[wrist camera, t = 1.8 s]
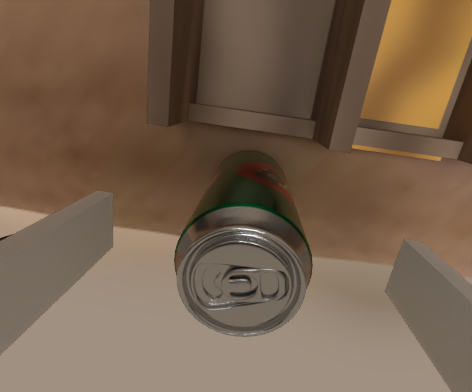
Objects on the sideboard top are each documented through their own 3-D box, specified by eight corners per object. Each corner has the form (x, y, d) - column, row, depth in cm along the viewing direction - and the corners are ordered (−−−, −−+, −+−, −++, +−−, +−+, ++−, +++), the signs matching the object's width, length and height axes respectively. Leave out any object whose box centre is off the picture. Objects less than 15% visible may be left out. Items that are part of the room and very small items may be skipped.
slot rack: (182, 119, 19) (146, 128, 13) (194, -65, 16) (155, -169, 10) (573, 176, 19) (729, 213, 13) (671, -4, 15) (951, -74, 9)
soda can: (211, 152, 20) (152, 219, 9) (283, 146, 20) (319, 211, 8) (219, 217, 22) (177, 346, 10) (285, 214, 21) (318, 345, 10)
